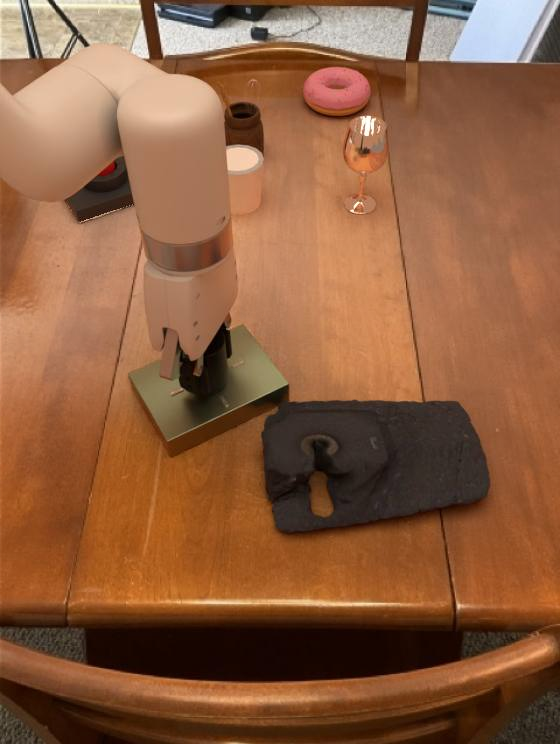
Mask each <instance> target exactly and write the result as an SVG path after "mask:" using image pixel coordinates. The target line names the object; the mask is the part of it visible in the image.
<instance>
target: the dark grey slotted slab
mask: <svg viewBox="0 0 560 744" xmlns="http://www.w3.org/2000/svg"><path fill="white" fill-rule="evenodd" d="M277 407H278V409H277V411H276V412H275V413H273V414H269V415H267V416H266V418H265V420H264V423H263V430H262V431H260V438H261V443H262V446H263V448H262V453H263V462H264V463H263V469H264V481H265V485H264V489H265V492H266V494H267V495H268V496H267V501H268V502H273V504H272V505H271V513H273V521H274V522H275V524H274V527H275V529H277V530H280V531H282V532H284V533H286V534H292V533H297V532H299V531H301V532H311V531H313V530H316V529H319V530H320V529H321V530H322V529H326V528H335V527H348V526H354V525H355V524H357V525H363V524H367V523H369V522H377V521H379V520H389V519H390V518H395V517H405V516H411V515H414V514H418V513H419V512H424V513H425V512H429V511H432V510H435V509H441V508H446V507H449V506H453V505H469V504H473V503H476V502H479V501H480V500H484V499H486V498H487V497H488V494H489V489H490V487H491V479H490V471H489V467H488V464H487V461H488V460H487V457H486V453H485V451H484V449H483V446H482V444H481V443H482V442H481V438H480V436H479V434H478V432H477V430H476V428H475V427H474V425H473V424H472V423H471V422H472V419H471V417H470V415H469V413H468V412H467V411H466V410H465V408H464V407H463V406H462V405H461V402H460V401H456V400H427V401H423V402H422V401H420V402H419V401H415V400H411V401H408V400H400V401H395V400H383V399H381V400H380V399H377V400H376V399H375V400H372V399H371V400H357V399H352V400H339V399H336V400H335V399H334V400H325V401H324V400H309V401H308V400H307V401H296V400H295V401H285V402H282V403H281V404H279V406H277ZM315 470H318V471H319V472H322V473H324V474H325V475H326V476H327V480H326V488H327V491H328V494H329V496H330V499H331V503H332V504H333V507H334V509H333V510H332V512H331V513H330V515H328V516H322V515H319V514H315V513H314V512H313V510H312V502H311V497H310V495H311V492H312V489H311V484H310V478H311V476H314V474H315Z"/></svg>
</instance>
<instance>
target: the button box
mask: <svg viewBox="0 0 560 744" xmlns="http://www.w3.org/2000/svg"><path fill="white" fill-rule="evenodd" d="M114 163H115V171H114V172H113V173H111V174H108V175H105V176H95V177H94V178H93V179H92V180H91V181H90V182H88V183H87V184H86V185H85V186H84V187H83V188H81V189H80V190H79V191H77V192H76V193H75V194H73V195H72V196H70V197H68V198H66V199H65V200H64V202H65V201H66V202H67V203H66V202H65V203H66V204H68V205H69V207H70V208H69V207H68V208H69V210H70V209H71V210H72V211H71V210H70V211H71V213H72V212H73V213H74V214H73V213H72V214H73V216H74V215H75V216H74V218H75V217H76V218H77V219H76V218H75V219H76V221H77V220H78V221H79V222H81V221H84V220H86V219H90V218H93V217H95V216H99V215H101V214H104V213H107V212H110V211H113V210H117V209H120V208H123V207H126V206H129V205H132V204H134V200H133V196H132V191H131V186H130V181H129V177H128V172H127V167H126V162H125V157H124V155H123V156H121V157H118V158H116V159H115V160H114ZM68 205H67V206H68ZM78 221H77V222H78ZM79 222H78V223H79Z"/></svg>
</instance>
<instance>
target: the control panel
mask: <svg viewBox="0 0 560 744" xmlns="http://www.w3.org/2000/svg"><path fill="white" fill-rule="evenodd" d="M229 330H230V335H231V346H232V355H231V357H230V358H228V359H227V363H228V373H229V380H228V383H227V384H226V386H225V387H224V388H223V389H222V390H220V391H219V392H217V393H214V394H209V395H208V396H205V395H202V394H199V393H190V392H188V391H186V390H185V389H183V388H182V387H181V386H180V383H179V378H177V379H175V380H173V381H170V380H167V379H164V378H161V377H159V371H160V366H161V360H162V358H161V359H158V360H156V361H153V362H152V363H149V364H147V365H144V366H142V367H140V368H137V369H135V370H133V371H131V372H128V373H127V376H128V379H129V384H130V386H131V390H132V392H133V394H134V396H135V397H136V400H137V401H138V402H139V404H140V406H141V408H142V410H143V411H144V413H145V415H146V416H147V419H148V420H149V421H150V424H151V426H152V427H153V428H154V430H155V432H156V434H157V436H158V437H159V439H160V441H161V442H162V444H163V446H164V448H165V449H166V451H167V453H168V456H170V458H174V457H175V456H177V455H180V454H182V453H183V452H186V451H187V450H190V449H191V448H193V447H196V446H198V445H200V444H202V443H204V442H206V441H209V440H210V439H212V438H214V437H217V436H219V435H221V434H223V433H225V432H227V431H229V430H232V429H233V428H235V427H237V426H240V425H242V424H243V423H246V422H248V421H249V420H252V419H254V418H256V417H258V416H260V415H262V414H264V413H266V412H268V411H271V410H272V409H275V408H277V407H278V406H279V404H281V403H282V402H285V401H288V402H290V382H289V381H288V380H287V379H286V377H285V376H284V374H283V373H282V372H281V371H280V369H279V367H277V366H276V364H275V363H274V362H273V360H272V359H271V358H270V357H269V355H268V354H267V352H266V351H265V349H264V348H262V345H260V343H259V342H258V341H257V340H256V338H255V336H253V334H252V333H251V332H250V330H249V329H248V328H247V326H246V325H245V324H244V323H242V324H240V325H239V324H238V325H237V326H234V327H232V328H230V329H229Z"/></svg>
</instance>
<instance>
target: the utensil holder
mask: <svg viewBox="0 0 560 744" xmlns="http://www.w3.org/2000/svg"><path fill="white" fill-rule="evenodd" d="M216 82H217V86H218V90H219V93H220V96H221V100H222V102H223V103H224V105H225V109H224V112H223V116H224V127H225V140H226V147H227V146H231V145H248V146H251V147H254V148H256V149H257V150H259V151H260V152H261V153H262V155H264V149H265V139H264V135H265V134H264V123H263V121H262V120H261V118H262V117H261V116H262V115H261V109H260V108H259V107H258V105H257V103H255V104H254V103H253V100H254V99H252V97H250V99H249V98H248V95H249V92H246V90H248V88H249V87H250V86H249V85H250V83H251V82H252V85H251V87H253V89H255V86H256V85H259V87H258V86H256V88H257V91H256V94H259V95H257V98H256V100H255V102H260V100H261V98H260V96H261V95H262V94H261V93H262V91H261V88H262V86H261V84H260V82H259V80H257V79H255V78H251V79H248V82H247V84H244V87H245V89H243V90H244V91H243V94H244V98H246V99H247V101H246V99H243V100H244V101H236V102H233V103H231V102H230V100H229V96H228V94H227V91H226V89H225V86H224V85H222V83H220V82H219V81H216ZM254 83H255V84H254ZM253 89H251V91H250V93H252V92H253ZM254 95H255V92H253V94H252V96H254ZM246 96H247V97H246ZM251 99H252V101H251ZM250 101H251V102H250Z"/></svg>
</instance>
